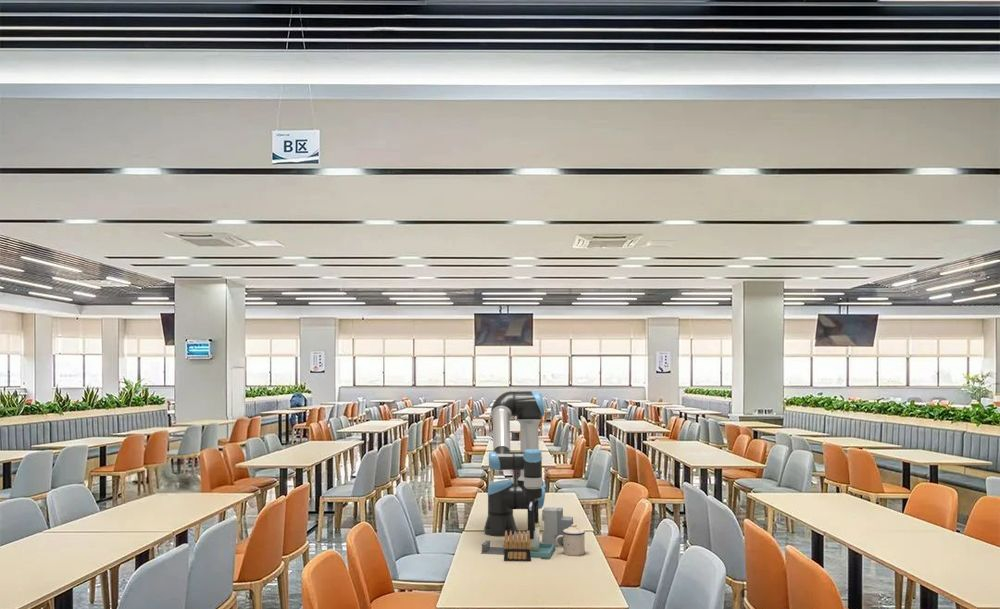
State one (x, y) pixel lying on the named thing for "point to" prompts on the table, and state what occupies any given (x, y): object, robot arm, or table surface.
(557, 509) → the circuit breaker
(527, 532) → the cylinder
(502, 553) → the grey square holder base
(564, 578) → the table surface
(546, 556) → the parts tray
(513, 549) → the ammunition clip
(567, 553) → the teacup with lid
